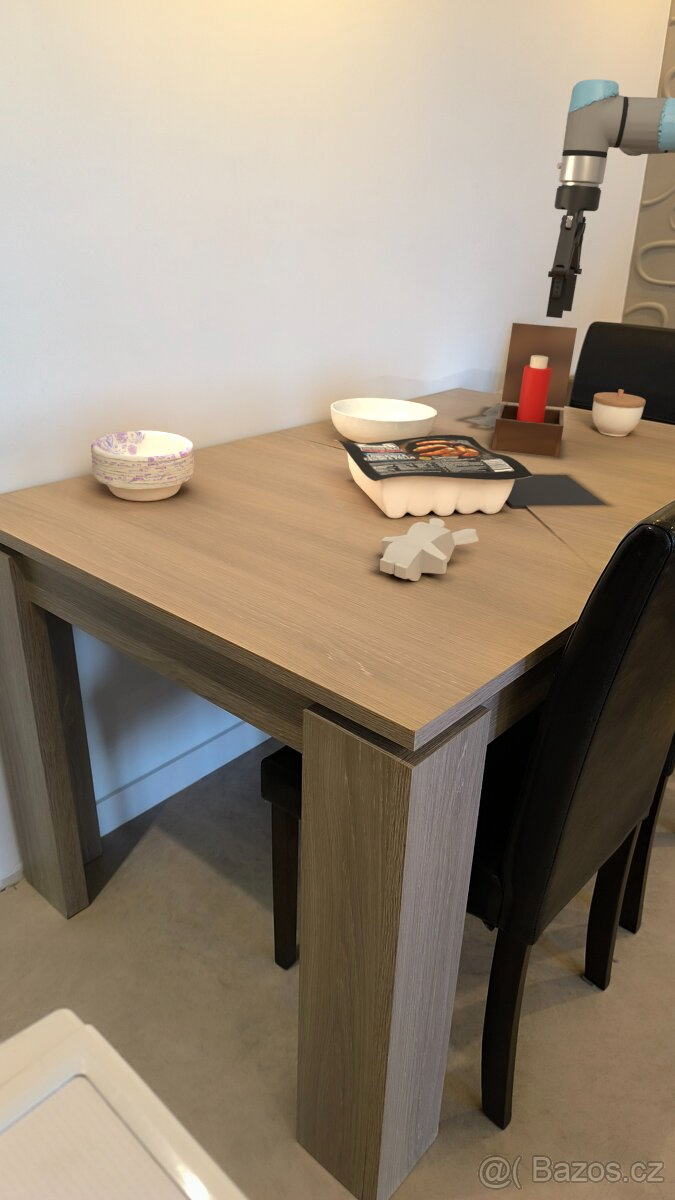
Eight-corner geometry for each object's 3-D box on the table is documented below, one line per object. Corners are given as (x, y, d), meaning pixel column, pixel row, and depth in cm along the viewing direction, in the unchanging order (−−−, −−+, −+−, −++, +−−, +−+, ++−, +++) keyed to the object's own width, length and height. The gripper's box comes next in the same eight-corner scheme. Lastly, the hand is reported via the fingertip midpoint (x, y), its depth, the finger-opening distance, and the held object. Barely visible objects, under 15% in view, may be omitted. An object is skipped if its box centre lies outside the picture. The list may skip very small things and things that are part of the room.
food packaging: (472, 433, 143) (534, 471, 123) (467, 475, 146) (526, 518, 127) (333, 435, 136) (375, 476, 117) (331, 479, 140) (371, 526, 120)
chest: (557, 461, 158) (563, 425, 155) (491, 453, 160) (496, 418, 157) (558, 442, 170) (563, 409, 168) (496, 436, 173) (501, 403, 170)
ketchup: (533, 440, 168) (547, 354, 160) (543, 447, 163) (558, 359, 156) (509, 440, 167) (522, 354, 160) (518, 447, 162) (531, 358, 155)
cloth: (509, 436, 173) (510, 426, 172) (449, 425, 179) (450, 415, 178) (550, 416, 193) (551, 406, 192) (495, 406, 199) (496, 397, 198)
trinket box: (632, 442, 174) (641, 397, 170) (582, 433, 179) (590, 389, 175) (642, 432, 183) (651, 389, 179) (594, 424, 187) (602, 382, 183)
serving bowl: (449, 440, 168) (453, 406, 165) (408, 463, 151) (412, 426, 148) (357, 424, 176) (359, 391, 173) (309, 444, 159) (310, 409, 156)
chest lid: (577, 328, 163) (577, 328, 164) (512, 322, 165) (512, 323, 166) (564, 407, 167) (564, 407, 168) (501, 401, 169) (501, 401, 170)
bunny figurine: (361, 542, 103) (427, 501, 113) (362, 577, 106) (426, 535, 116) (425, 563, 98) (488, 519, 108) (424, 600, 101) (485, 553, 111)
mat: (566, 478, 148) (566, 475, 147) (605, 508, 133) (606, 504, 133) (480, 478, 145) (480, 474, 145) (511, 508, 131) (512, 504, 130)
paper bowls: (174, 513, 121) (172, 460, 117) (77, 502, 123) (72, 450, 119) (208, 483, 134) (207, 435, 131) (119, 473, 136) (116, 426, 133)
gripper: (566, 187, 155) (548, 306, 164) (547, 181, 134) (527, 318, 143) (607, 189, 153) (587, 309, 162) (594, 183, 132) (571, 322, 141)
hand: (559, 314), depth 152 cm, fingers open, 13 cm apart
